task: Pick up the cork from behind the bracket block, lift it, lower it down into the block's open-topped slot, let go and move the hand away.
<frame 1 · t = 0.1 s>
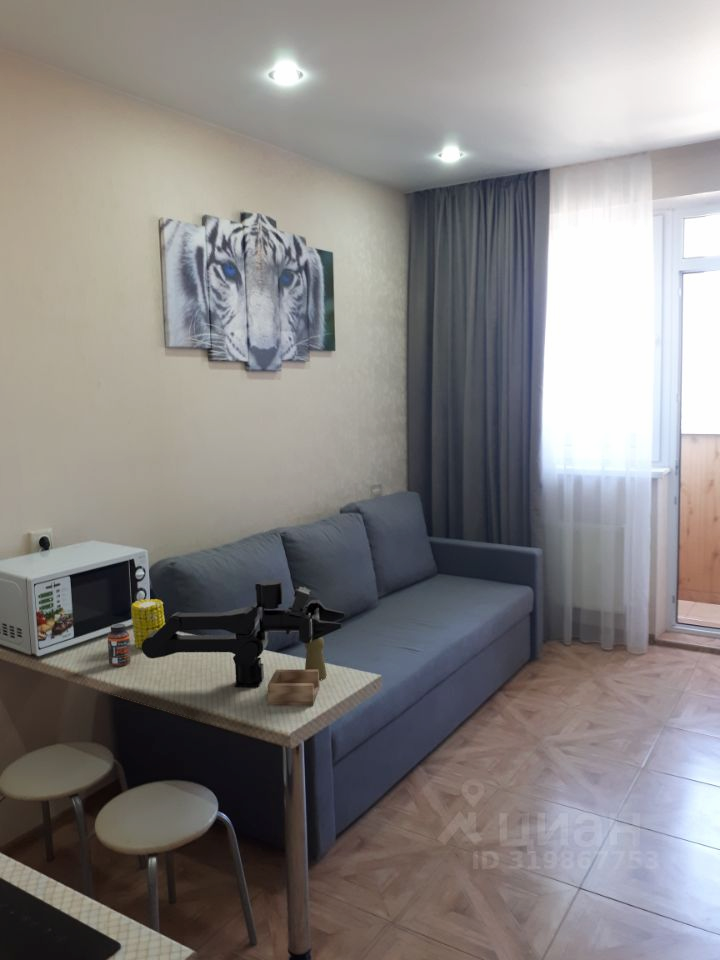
hand: (343, 620, 192), 17 cm above the breakfast bar, tool horizontal, fingers open, 9 cm apart
food: (150, 646, 229), on the breakfast bar
slot bracket: (294, 696, 185), on the breakfast bar
supplement bottle: (120, 664, 214), on the breakfast bar
cork: (315, 677, 198), on the breakfast bar
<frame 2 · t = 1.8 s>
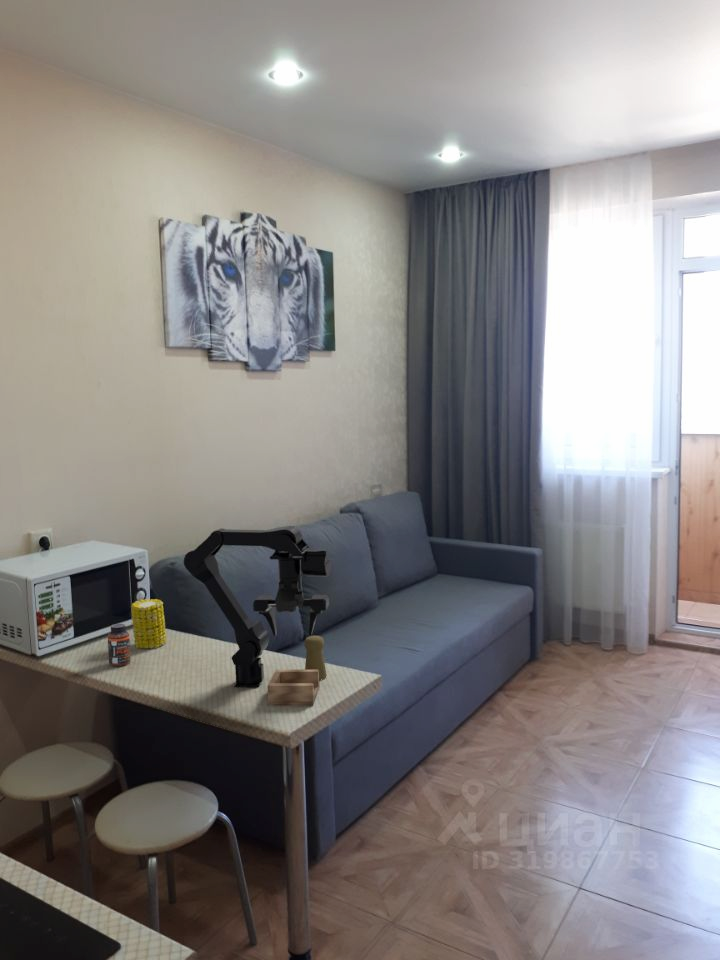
hand: (292, 635, 192), 13 cm above the breakfast bar, tool pointing down, fingers open, 9 cm apart
nothing on the breakfast bar moved.
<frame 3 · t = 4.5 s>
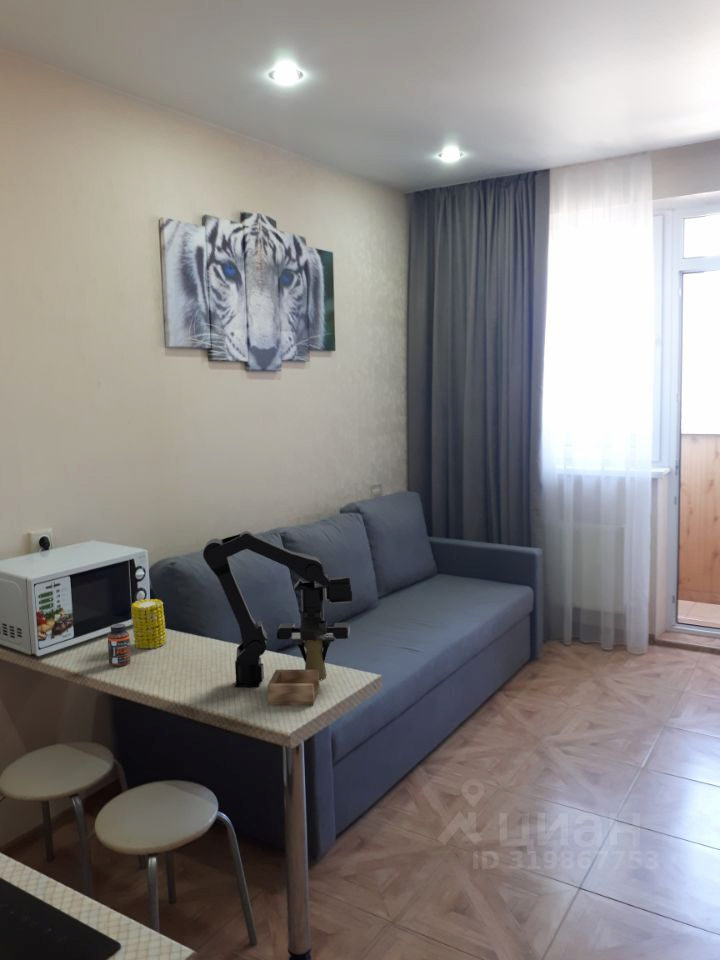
hand: (314, 662, 198), 4 cm above the breakfast bar, tool pointing down, fingers closed on cork, 4 cm apart
cork: (315, 677, 198), on the breakfast bar, touching gripper
everything else where it was.
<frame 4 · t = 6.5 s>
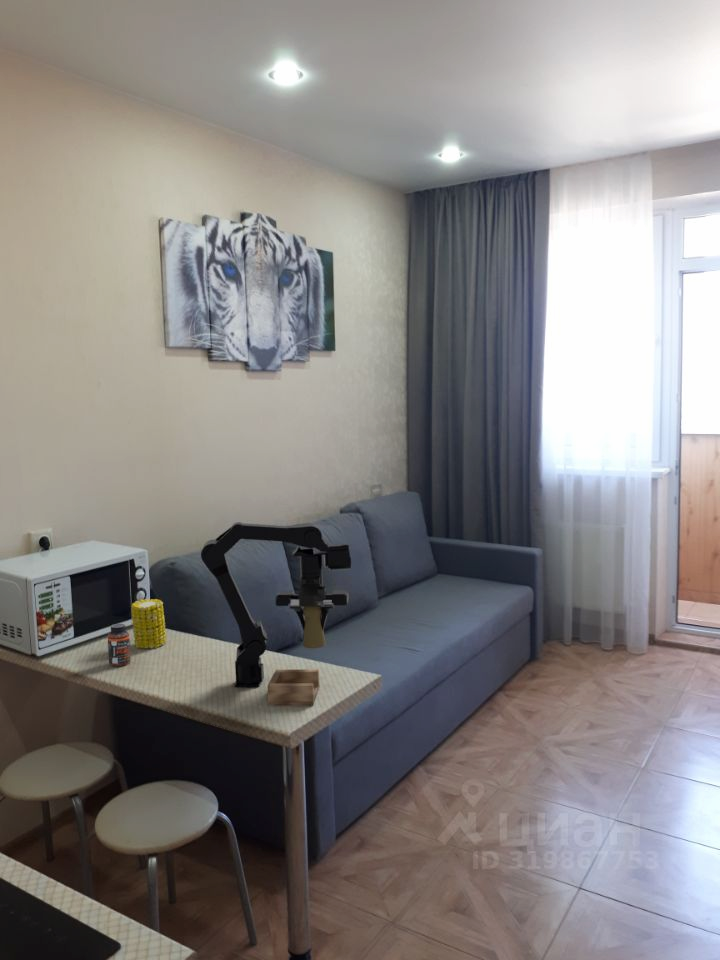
hand: (313, 629, 197), 13 cm above the breakfast bar, tool pointing down, fingers closed on cork, 4 cm apart
cork: (314, 645, 197), point 9 cm above the breakfast bar, touching gripper
everything else where it was.
when the fingers open (6 cm above the breakfast bar, at t = 9.0 s): cork drops 1 cm, resting on slot bracket.
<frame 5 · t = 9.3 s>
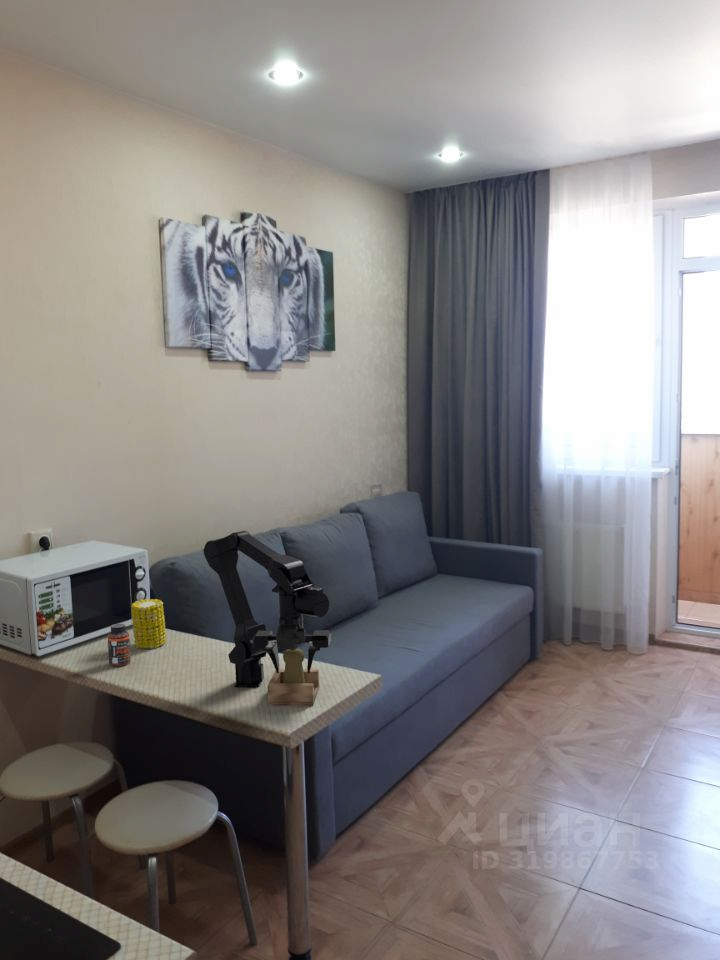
hand: (293, 672, 185), 6 cm above the breakfast bar, tool pointing down, fingers open, 7 cm apart
cork: (294, 693, 185), point 1 cm above the breakfast bar, touching slot bracket
everything else where it was.
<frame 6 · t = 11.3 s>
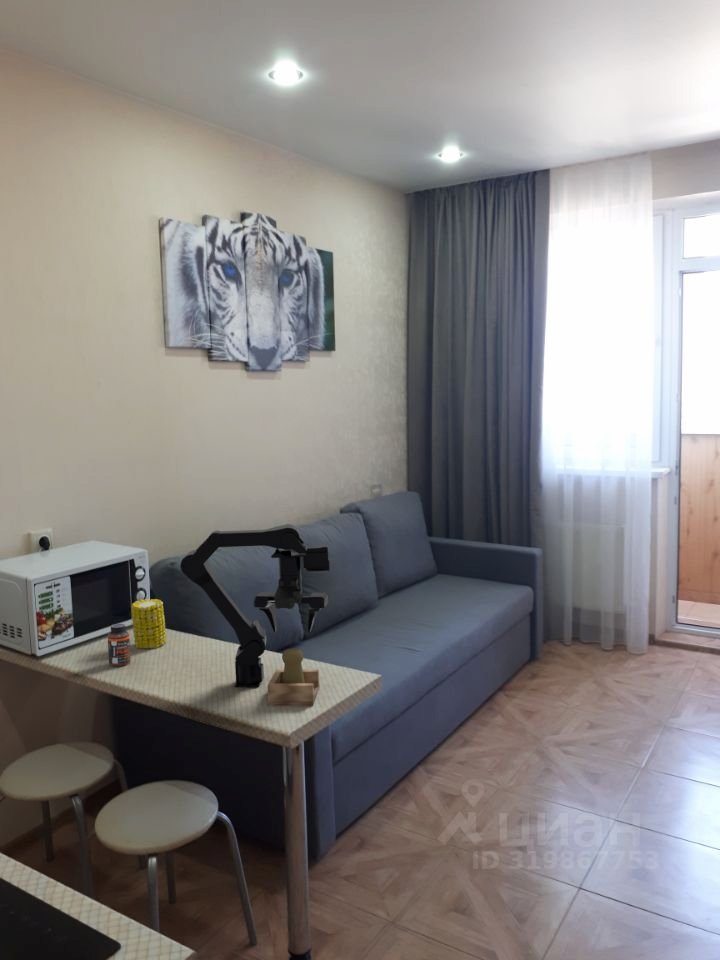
hand: (292, 632, 195), 13 cm above the breakfast bar, tool pointing down, fingers open, 9 cm apart
nothing on the breakfast bar moved.
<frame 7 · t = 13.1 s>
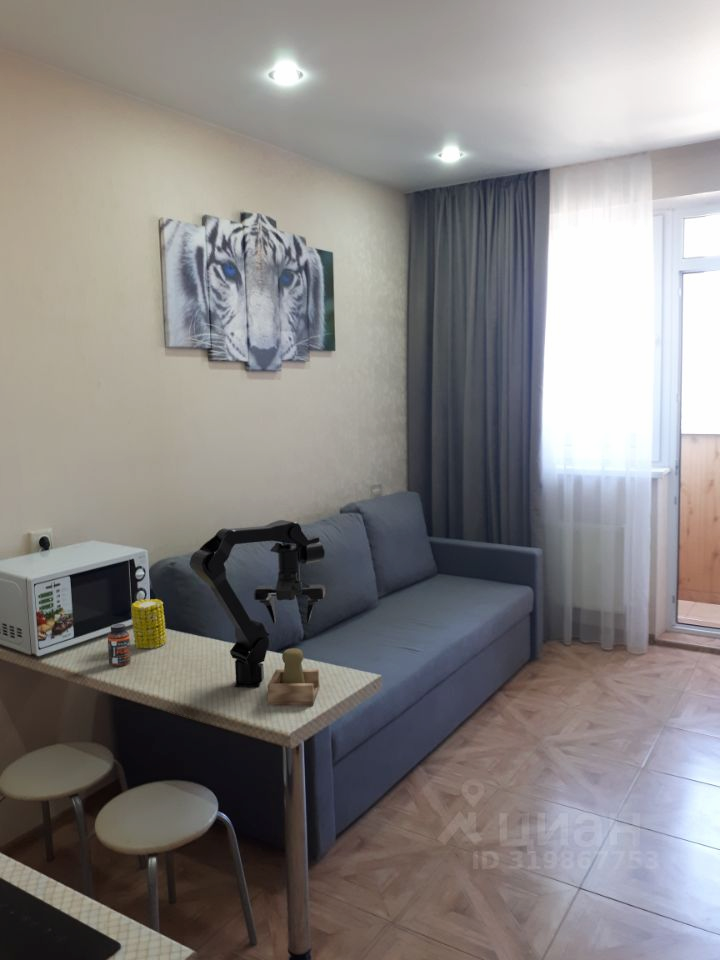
hand: (291, 623, 203), 13 cm above the breakfast bar, tool pointing down, fingers open, 9 cm apart
nothing on the breakfast bar moved.
at the end: cork 0.1 cm off-centre on the slot bracket, point 0.6 cm above the slot bracket's base; cork tilted 0°; the gripper is holding nothing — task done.
